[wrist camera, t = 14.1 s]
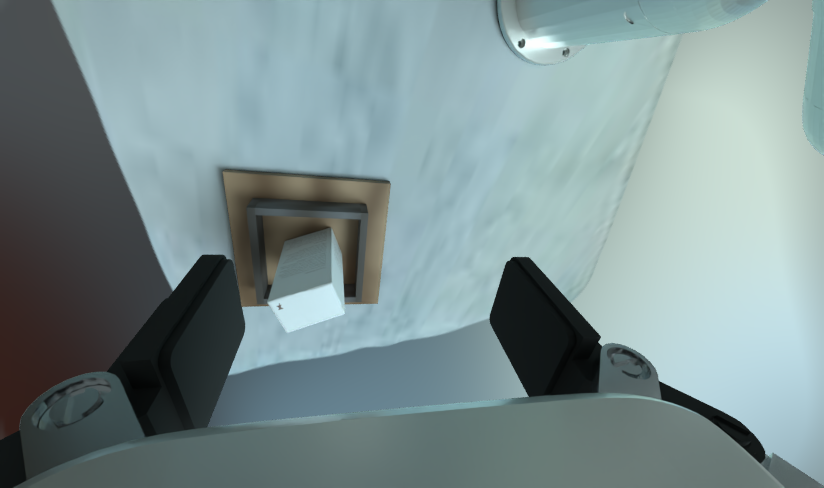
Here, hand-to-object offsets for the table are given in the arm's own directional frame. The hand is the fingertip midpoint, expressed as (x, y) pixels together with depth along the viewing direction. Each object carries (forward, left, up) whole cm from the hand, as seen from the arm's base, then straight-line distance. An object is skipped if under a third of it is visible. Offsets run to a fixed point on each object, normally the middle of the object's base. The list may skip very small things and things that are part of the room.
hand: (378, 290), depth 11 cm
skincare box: (+4, +13, -27) cm, 31 cm away
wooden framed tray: (+4, +13, -28) cm, 31 cm away
